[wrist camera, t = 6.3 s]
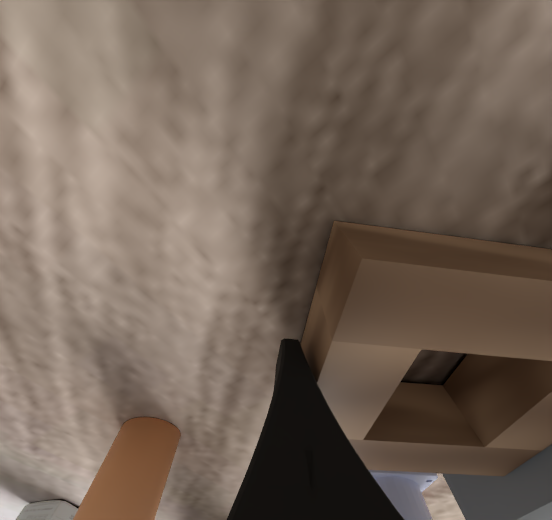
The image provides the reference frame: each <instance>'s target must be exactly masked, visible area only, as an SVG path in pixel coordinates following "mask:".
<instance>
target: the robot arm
mask: <svg viewBox="0 0 552 520" xmlns="http://www.w3.org/2000/svg"><path fill="white" fill-rule="evenodd" d="M437 478H438V476H437V474H436V473H423V472H403V471H382V470H368V469H367V468H366V466H365V465H364V463H363V462H362V460H361V458H360V457H359V455H358V454H357V452H356V451H355V449H354V448H353V446H352V445H351V443H350V441H349V440H348V438H347V437H346V435H345V433H344V432H343V430H342V428H341V427H340V425H339V423H338V422H337V420H336V418H335V416H334V415H333V413H332V411H331V409H330V407H329V406H328V404H327V402H326V400H325V398H324V396H323V394H322V392H321V390H320V388H319V386H318V384H317V382H316V380H315V378H314V376H313V374H312V371H311V369H310V367H309V365H308V362H307V360H306V358H305V355H304V353H303V350H302V347H301V344H300V342H299V341H298V340H294V339H283V340H281V345H280V350H279V354H278V359H277V364H276V374H275V384H274V392H273V397H272V401H271V404H270V408H269V411H268V414H267V417H266V420H265V423H264V426H263V429H262V432H261V435H260V438H259V441H258V443H257V446H256V449H255V451H254V454H253V457H252V459H251V462H250V465H249V467H248V470H247V472H246V475H245V477H244V480H243V482H242V484H241V487H240V489H239V492H238V494H237V496H236V499H235V501H234V504H233V506H232V508H231V511H230V513H229V516H228V518H227V520H433V519H432V517H431V514H430V512H429V510H428V507H427V505H426V502H425V500H424V498H423V495H422V493H421V492H422V491H424V490H425V489H426V488H427V487H428V486H429V485H430V484H432V483H433V482H434V481H435V480H436V479H437Z"/></svg>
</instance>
